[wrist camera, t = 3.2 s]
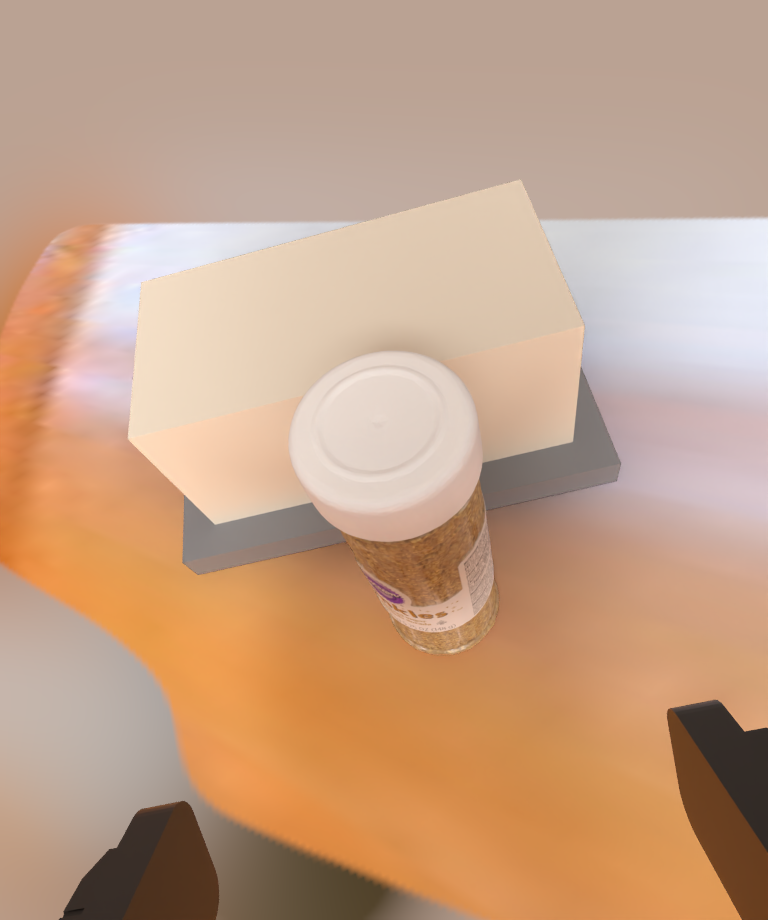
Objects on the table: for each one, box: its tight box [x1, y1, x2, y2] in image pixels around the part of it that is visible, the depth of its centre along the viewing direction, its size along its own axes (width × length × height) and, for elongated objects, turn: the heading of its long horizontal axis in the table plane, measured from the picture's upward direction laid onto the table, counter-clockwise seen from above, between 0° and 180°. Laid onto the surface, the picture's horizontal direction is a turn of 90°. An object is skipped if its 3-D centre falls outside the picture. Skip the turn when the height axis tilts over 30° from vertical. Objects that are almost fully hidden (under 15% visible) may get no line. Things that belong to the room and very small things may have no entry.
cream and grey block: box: [128, 180, 621, 575], centre depth 27 cm, size 19×11×9 cm, turn 99°
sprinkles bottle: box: [288, 351, 499, 655], centre depth 20 cm, size 5×5×13 cm
